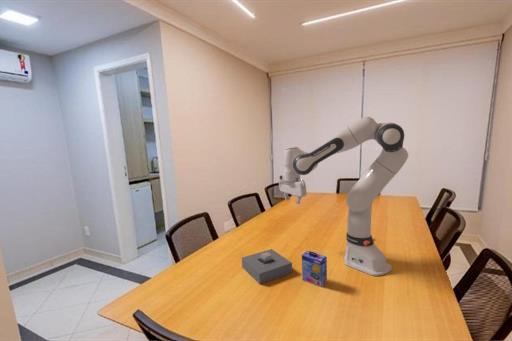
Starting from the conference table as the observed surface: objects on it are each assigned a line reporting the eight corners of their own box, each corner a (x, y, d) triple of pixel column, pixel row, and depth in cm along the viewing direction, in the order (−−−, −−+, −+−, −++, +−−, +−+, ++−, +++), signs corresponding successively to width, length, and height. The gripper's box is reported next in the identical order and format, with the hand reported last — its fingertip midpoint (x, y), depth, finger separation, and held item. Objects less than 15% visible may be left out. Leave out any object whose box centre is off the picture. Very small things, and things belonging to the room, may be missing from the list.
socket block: (292, 272, 118) (291, 262, 118) (259, 284, 110) (259, 273, 109) (271, 257, 134) (271, 248, 133) (242, 266, 125) (241, 257, 125)
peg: (272, 270, 121) (271, 254, 120) (265, 272, 119) (264, 257, 118) (267, 266, 124) (267, 251, 123) (260, 269, 122) (260, 253, 122)
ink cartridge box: (301, 280, 112) (301, 249, 110) (307, 274, 116) (306, 245, 114) (321, 287, 105) (321, 255, 104) (327, 282, 110) (327, 251, 108)
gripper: (309, 178, 127) (309, 205, 129) (285, 174, 145) (286, 197, 146) (299, 180, 124) (300, 207, 126) (277, 175, 142) (277, 199, 143)
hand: (292, 201), depth 136 cm, fingers open, 8 cm apart
